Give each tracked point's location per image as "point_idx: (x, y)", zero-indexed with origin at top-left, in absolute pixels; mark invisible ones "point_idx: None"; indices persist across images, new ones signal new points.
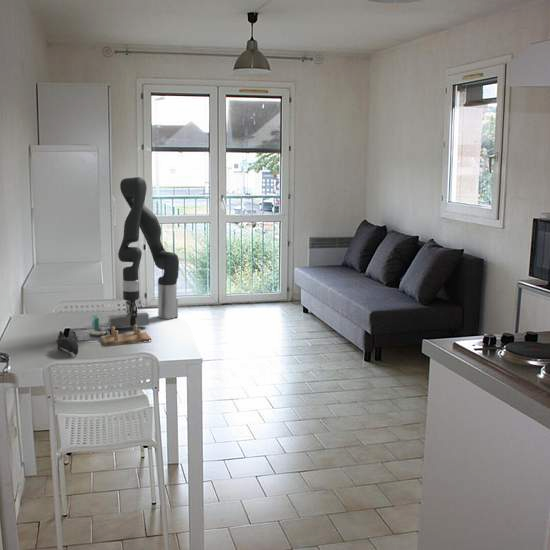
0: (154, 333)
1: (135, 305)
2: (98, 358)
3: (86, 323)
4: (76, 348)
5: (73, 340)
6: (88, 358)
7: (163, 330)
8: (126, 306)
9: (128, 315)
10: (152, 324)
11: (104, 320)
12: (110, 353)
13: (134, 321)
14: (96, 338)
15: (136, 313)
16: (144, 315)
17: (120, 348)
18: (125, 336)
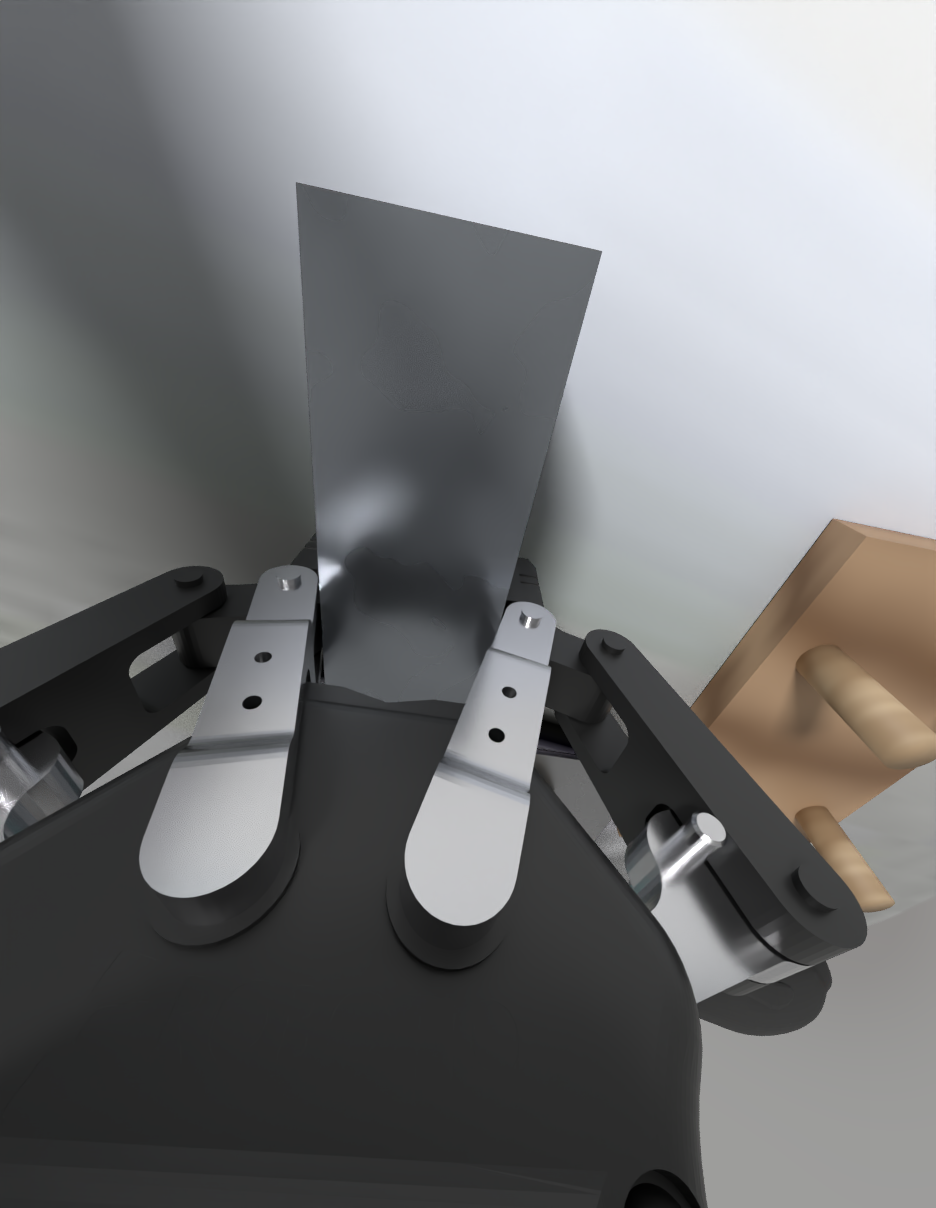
0: (877, 353)
1: (658, 932)
2: (929, 897)
3: (135, 763)
4: (831, 981)
5: (805, 1023)
6: (877, 914)
7: (902, 16)
8: (83, 760)
9: (414, 695)
10: (299, 28)
11: (10, 640)
12: (931, 854)
13: (537, 598)
14: (592, 829)
15: (690, 725)
16: (557, 408)
17: (917, 801)
18: (789, 745)
